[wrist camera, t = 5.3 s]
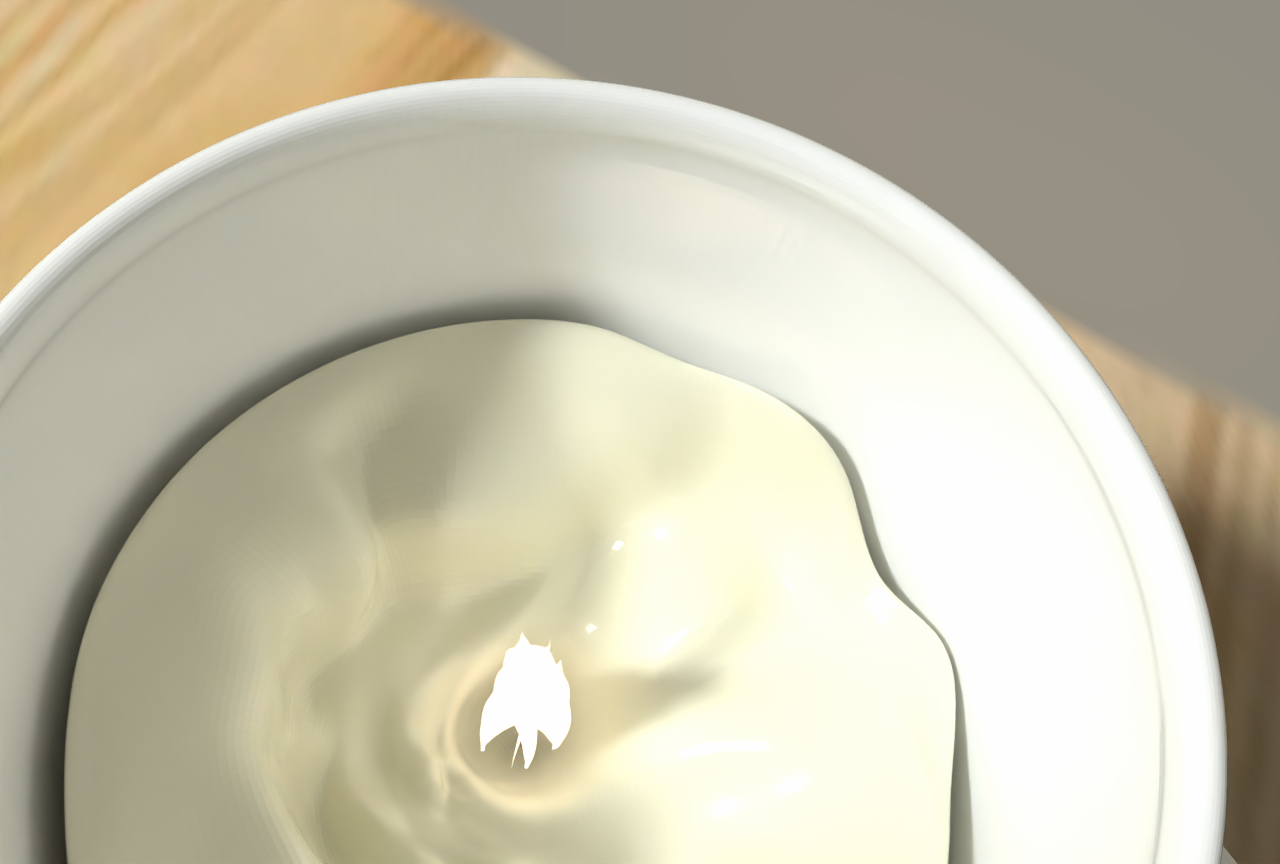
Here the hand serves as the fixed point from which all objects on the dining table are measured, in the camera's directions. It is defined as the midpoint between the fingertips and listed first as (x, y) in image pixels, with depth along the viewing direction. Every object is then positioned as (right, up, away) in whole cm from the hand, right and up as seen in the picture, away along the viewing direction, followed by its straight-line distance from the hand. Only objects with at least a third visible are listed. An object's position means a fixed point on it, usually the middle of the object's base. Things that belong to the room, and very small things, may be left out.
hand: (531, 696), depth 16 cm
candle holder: (-1, -3, +4) cm, 5 cm away
